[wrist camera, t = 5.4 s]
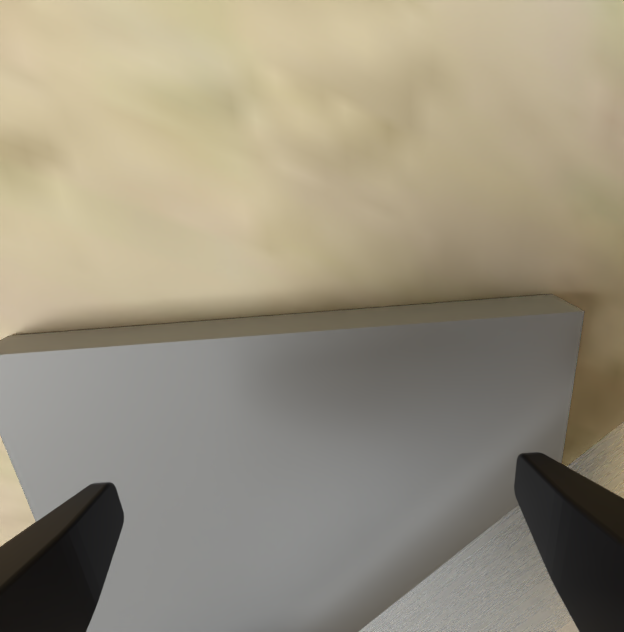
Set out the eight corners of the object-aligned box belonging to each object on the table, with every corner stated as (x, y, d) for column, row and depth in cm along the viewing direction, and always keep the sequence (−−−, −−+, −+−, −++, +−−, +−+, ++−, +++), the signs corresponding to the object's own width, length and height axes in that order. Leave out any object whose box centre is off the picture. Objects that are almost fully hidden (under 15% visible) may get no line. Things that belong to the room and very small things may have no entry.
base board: (503, 689, 17) (520, 735, 16) (143, 703, 18) (128, 748, 17) (551, 293, 11) (584, 311, 10) (9, 335, 12) (-32, 357, 11)
